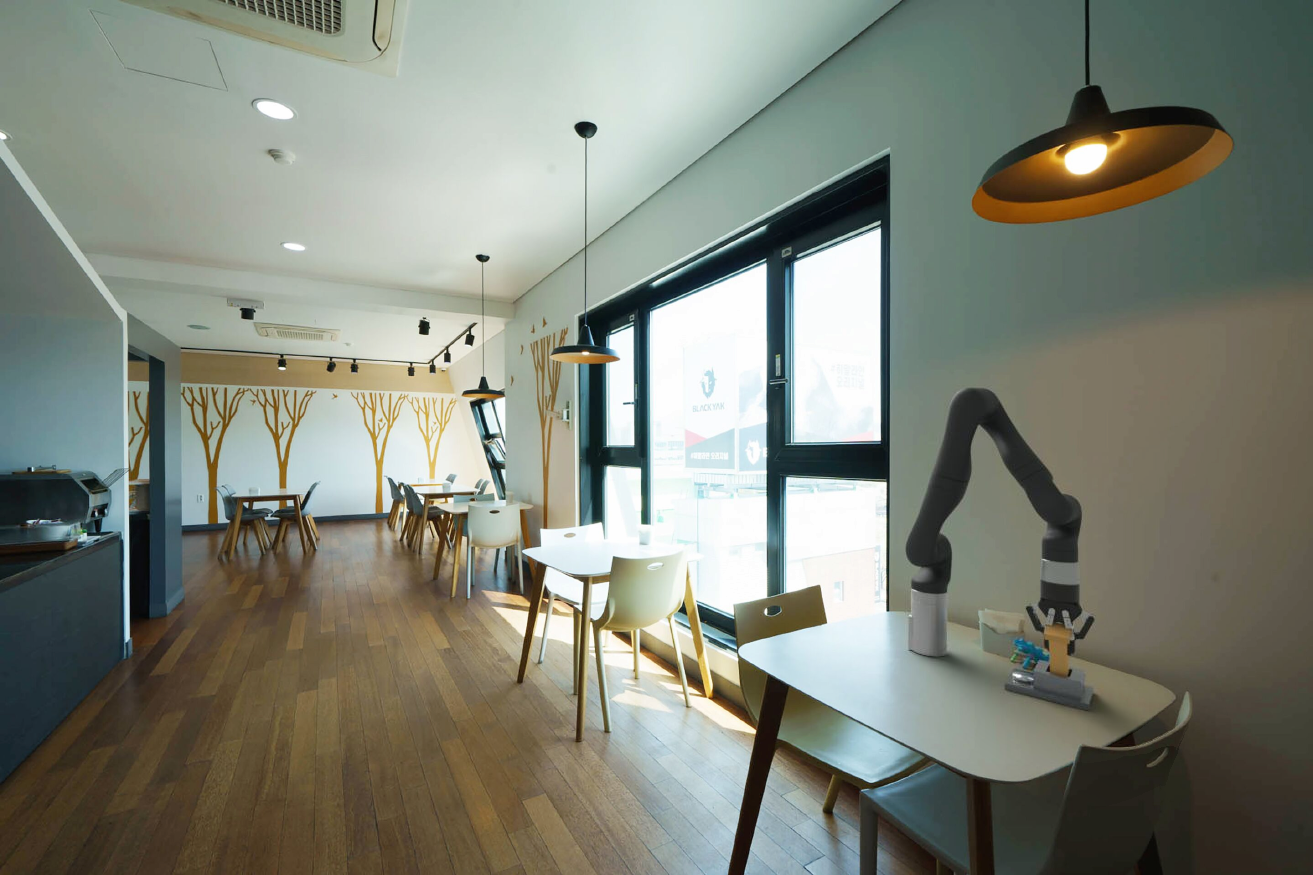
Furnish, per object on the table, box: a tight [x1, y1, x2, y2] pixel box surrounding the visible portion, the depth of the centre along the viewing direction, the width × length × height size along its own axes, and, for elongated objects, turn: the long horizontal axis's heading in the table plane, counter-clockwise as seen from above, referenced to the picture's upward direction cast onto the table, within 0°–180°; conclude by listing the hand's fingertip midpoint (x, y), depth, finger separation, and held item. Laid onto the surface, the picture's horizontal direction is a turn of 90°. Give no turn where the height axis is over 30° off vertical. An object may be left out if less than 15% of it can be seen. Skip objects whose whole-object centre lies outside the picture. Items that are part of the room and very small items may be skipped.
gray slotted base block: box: [1004, 660, 1094, 712], centre depth 134 cm, size 16×12×6 cm
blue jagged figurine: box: [1010, 637, 1050, 670], centre depth 149 cm, size 11×6×10 cm
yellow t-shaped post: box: [1043, 622, 1071, 676], centre depth 132 cm, size 5×6×11 cm
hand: (1059, 652), depth 133 cm, fingers closed on yellow t-shaped post, 3 cm apart
